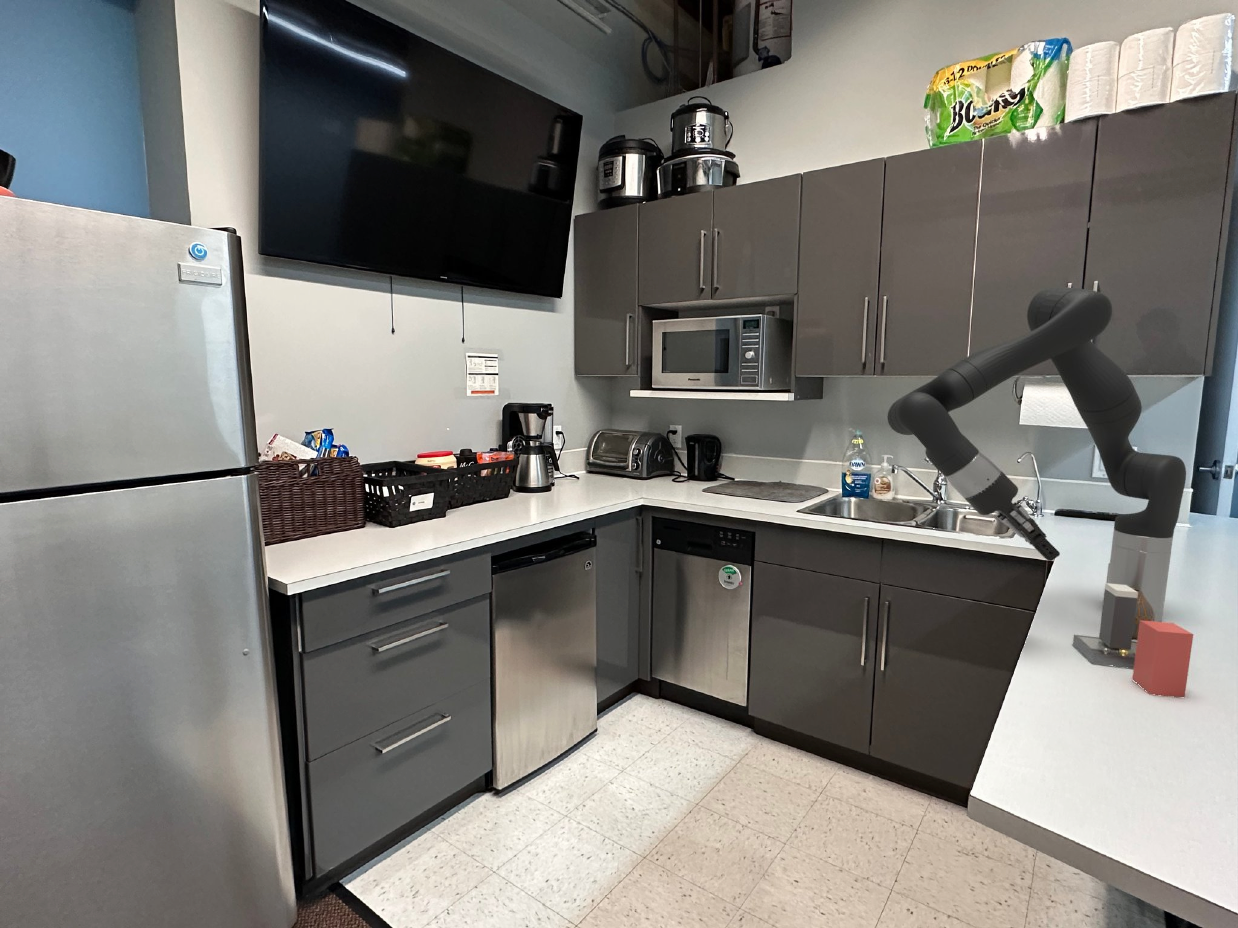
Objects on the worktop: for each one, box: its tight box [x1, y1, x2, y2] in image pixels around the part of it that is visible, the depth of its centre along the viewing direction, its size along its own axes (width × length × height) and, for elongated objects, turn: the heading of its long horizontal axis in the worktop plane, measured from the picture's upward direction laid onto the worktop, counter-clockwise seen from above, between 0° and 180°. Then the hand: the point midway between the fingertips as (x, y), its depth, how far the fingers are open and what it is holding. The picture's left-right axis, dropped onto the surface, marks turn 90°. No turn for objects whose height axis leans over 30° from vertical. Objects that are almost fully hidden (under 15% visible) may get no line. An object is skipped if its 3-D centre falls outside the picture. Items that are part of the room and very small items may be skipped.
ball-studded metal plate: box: [1072, 634, 1137, 669], centre depth 106 cm, size 13×8×5 cm, turn 73°
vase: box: [1132, 588, 1155, 639], centre depth 117 cm, size 7×7×9 cm
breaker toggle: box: [1098, 582, 1138, 650], centre depth 106 cm, size 3×4×10 cm
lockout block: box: [1131, 620, 1194, 698], centre depth 95 cm, size 4×4×10 cm
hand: (1053, 556), depth 107 cm, fingers closed
